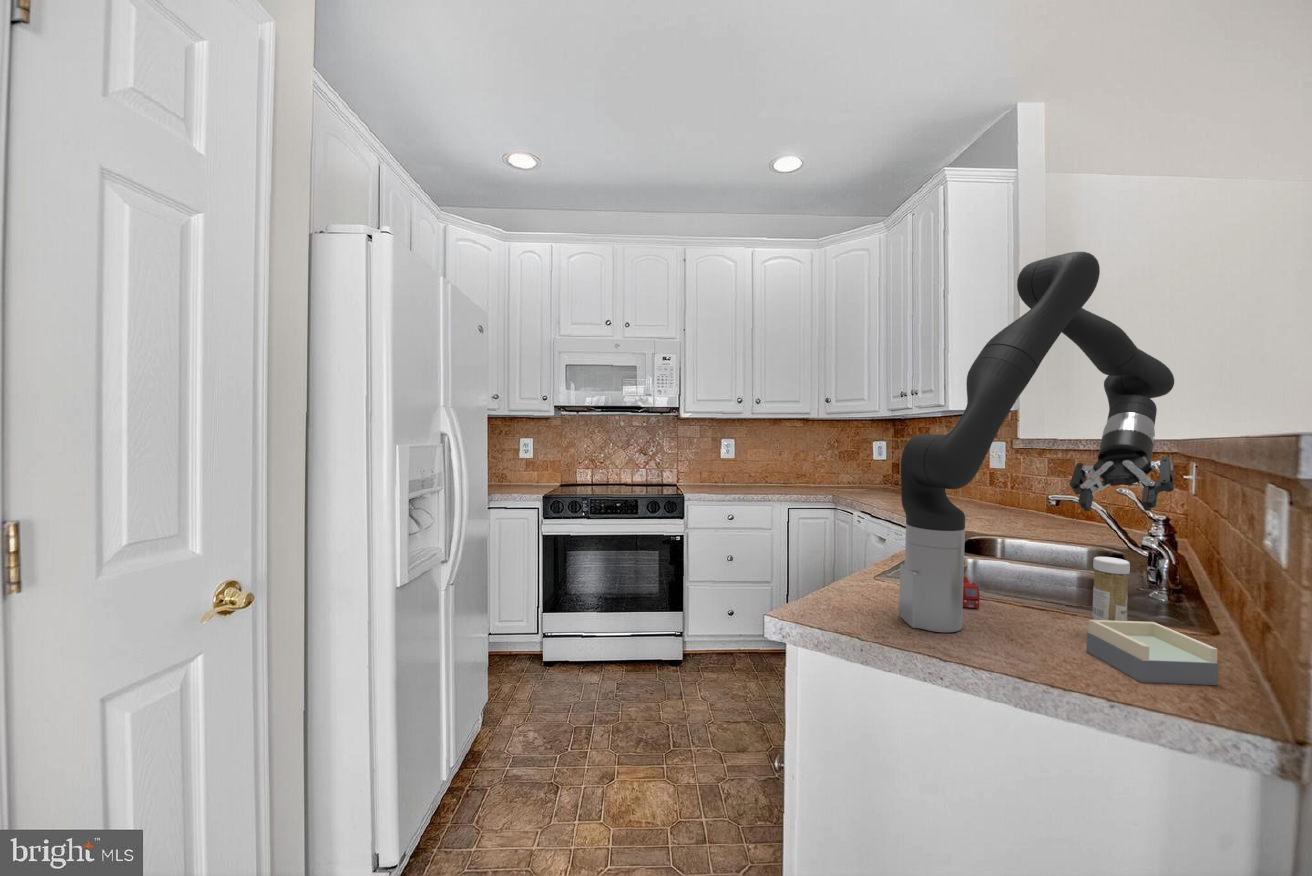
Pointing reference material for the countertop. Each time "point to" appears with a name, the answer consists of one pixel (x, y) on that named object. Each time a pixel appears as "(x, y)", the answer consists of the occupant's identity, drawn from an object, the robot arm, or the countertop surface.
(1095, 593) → the sprinkles bottle
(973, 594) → the toy fire truck
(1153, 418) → the robot arm
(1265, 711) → the countertop surface
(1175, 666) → the shallow square tray
